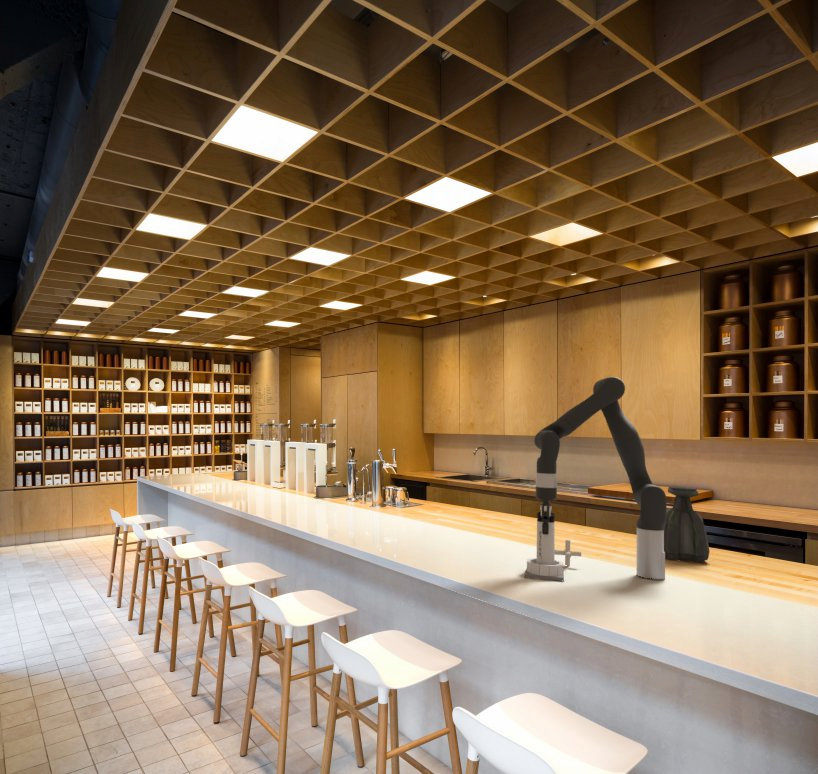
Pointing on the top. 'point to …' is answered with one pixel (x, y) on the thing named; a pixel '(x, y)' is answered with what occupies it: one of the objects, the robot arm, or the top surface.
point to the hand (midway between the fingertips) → (545, 532)
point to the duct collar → (544, 570)
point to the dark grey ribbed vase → (684, 529)
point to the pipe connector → (567, 552)
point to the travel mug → (545, 541)
